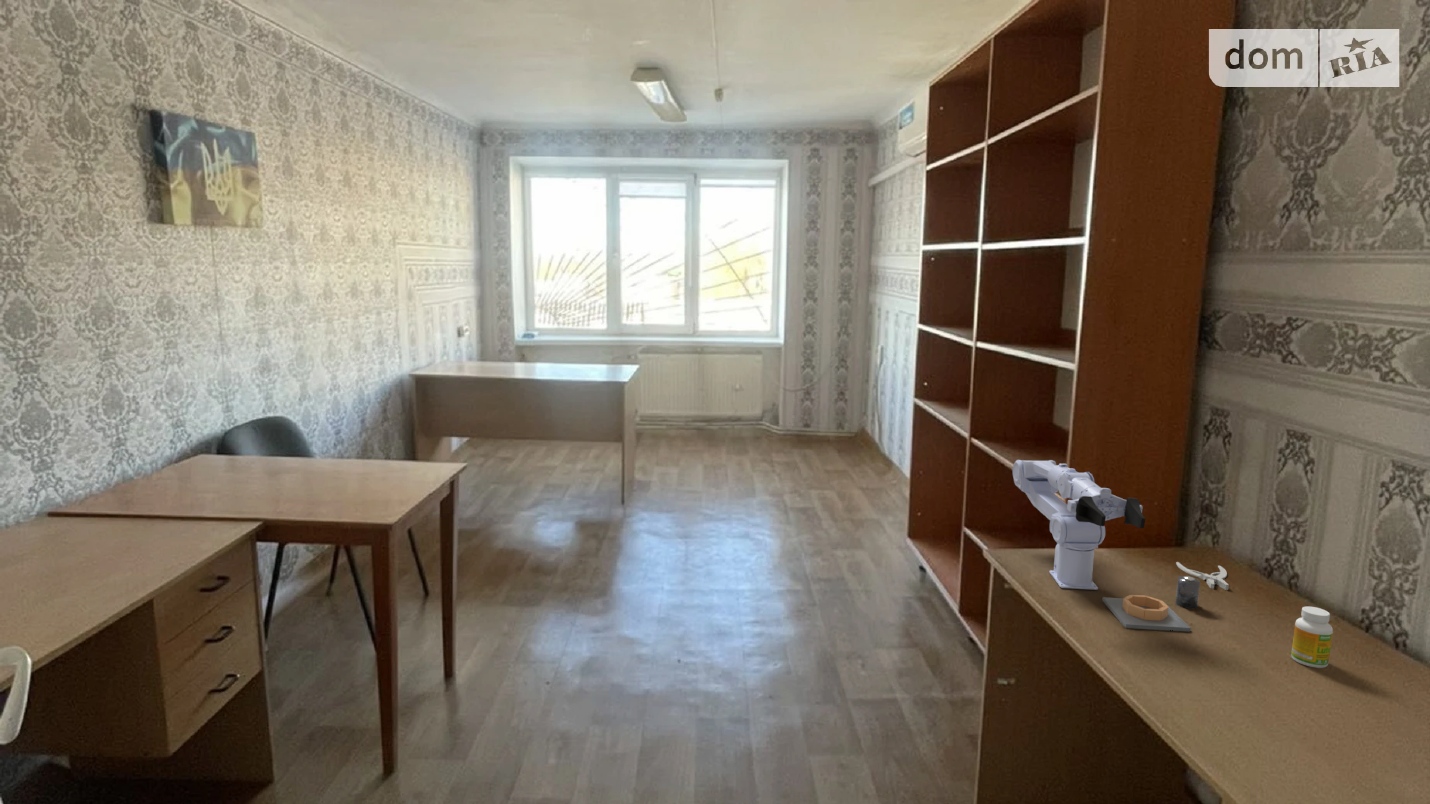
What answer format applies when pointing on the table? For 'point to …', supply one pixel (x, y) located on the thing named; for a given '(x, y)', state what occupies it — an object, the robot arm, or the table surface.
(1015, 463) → the robot arm
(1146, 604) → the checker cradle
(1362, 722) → the table surface
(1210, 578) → the pliers
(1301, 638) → the supplement bottle
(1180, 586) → the cell
